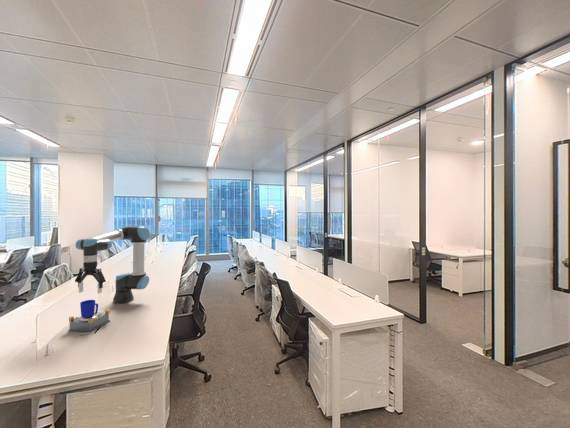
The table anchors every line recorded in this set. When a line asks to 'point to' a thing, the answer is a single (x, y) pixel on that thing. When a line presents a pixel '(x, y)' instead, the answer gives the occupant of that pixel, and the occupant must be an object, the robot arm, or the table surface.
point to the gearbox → (89, 322)
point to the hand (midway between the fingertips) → (90, 292)
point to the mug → (88, 308)
